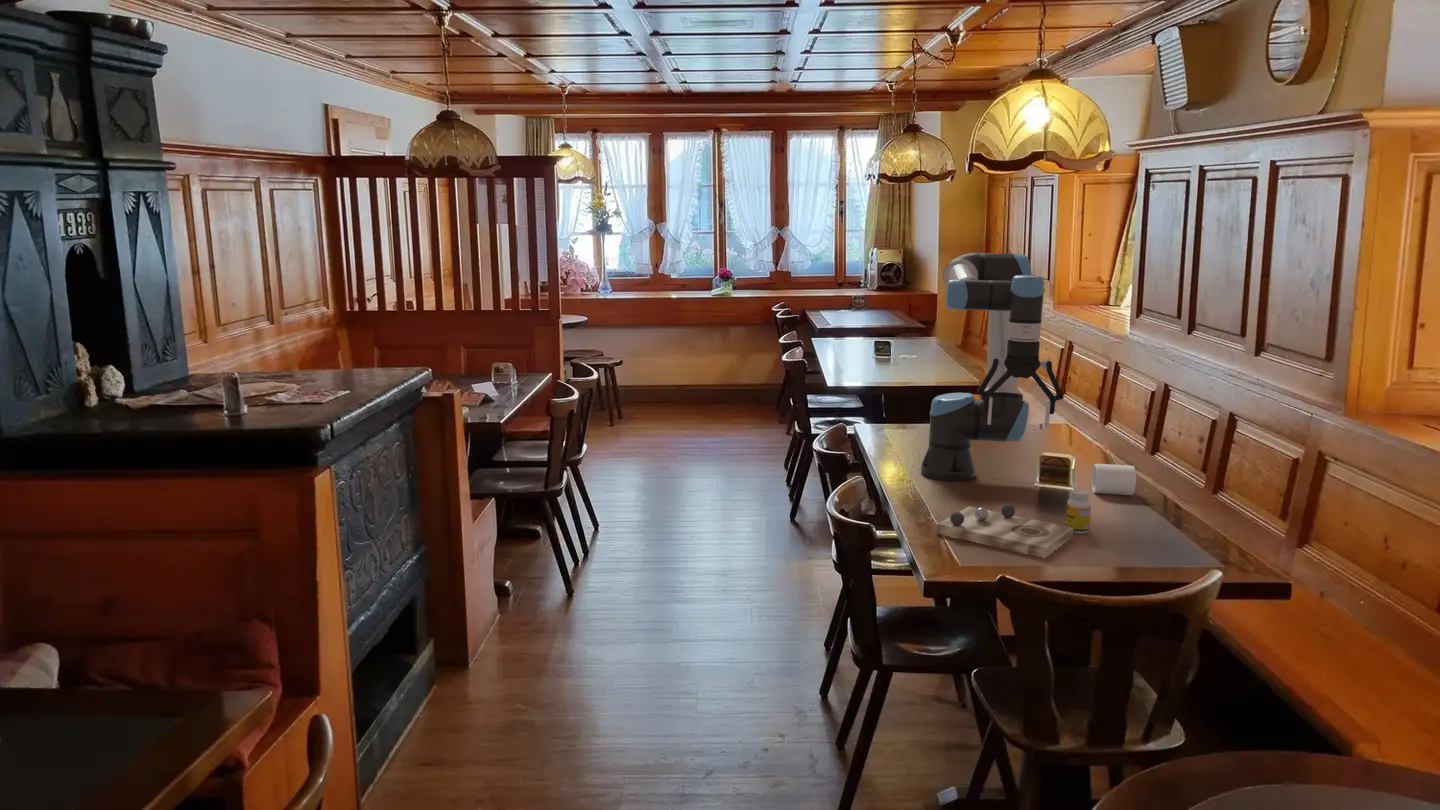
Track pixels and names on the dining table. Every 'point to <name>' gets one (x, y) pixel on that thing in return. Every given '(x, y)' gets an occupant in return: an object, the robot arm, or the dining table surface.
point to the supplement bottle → (1078, 511)
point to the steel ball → (981, 514)
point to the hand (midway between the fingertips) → (1017, 425)
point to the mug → (1113, 479)
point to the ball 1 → (957, 518)
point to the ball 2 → (1008, 511)
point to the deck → (1008, 532)
